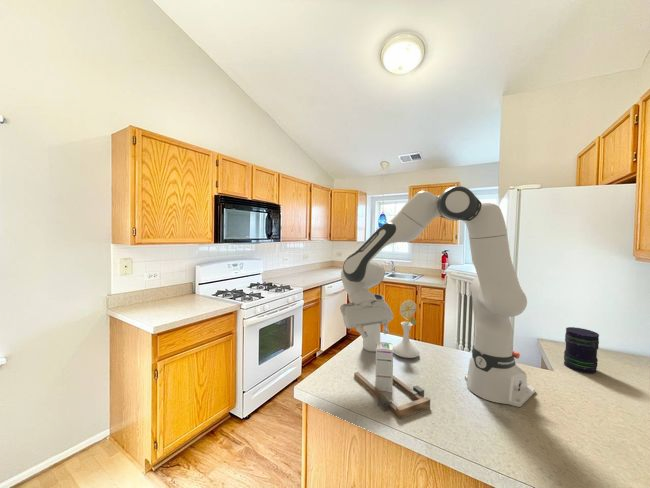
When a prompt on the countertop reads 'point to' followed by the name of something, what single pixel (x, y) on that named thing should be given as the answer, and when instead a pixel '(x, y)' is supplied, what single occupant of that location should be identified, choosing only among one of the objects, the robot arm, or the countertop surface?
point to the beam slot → (387, 404)
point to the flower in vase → (407, 332)
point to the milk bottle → (371, 337)
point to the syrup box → (384, 366)
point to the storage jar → (581, 350)
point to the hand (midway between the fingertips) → (376, 335)
